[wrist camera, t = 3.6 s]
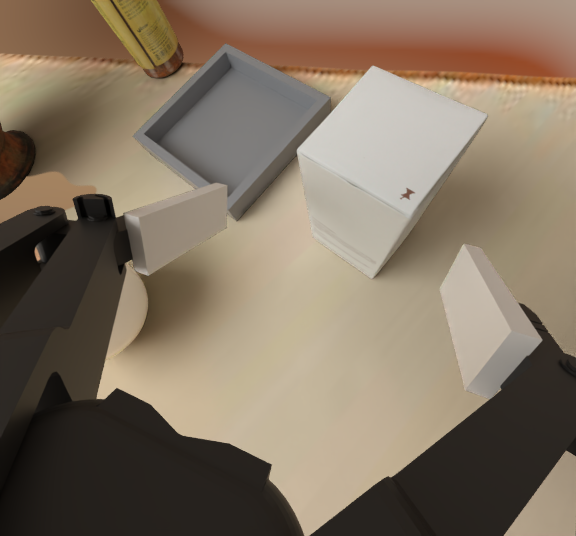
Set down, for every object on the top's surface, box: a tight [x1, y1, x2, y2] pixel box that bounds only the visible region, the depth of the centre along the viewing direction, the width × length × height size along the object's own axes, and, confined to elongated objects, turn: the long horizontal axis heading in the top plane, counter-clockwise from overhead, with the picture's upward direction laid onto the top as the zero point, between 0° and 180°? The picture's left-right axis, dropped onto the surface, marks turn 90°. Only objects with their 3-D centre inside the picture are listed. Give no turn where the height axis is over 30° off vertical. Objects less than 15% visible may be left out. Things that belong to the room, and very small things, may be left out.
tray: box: [133, 44, 331, 221], centre depth 30 cm, size 16×16×2 cm
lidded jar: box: [35, 248, 148, 361], centre depth 23 cm, size 11×11×9 cm
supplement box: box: [297, 66, 488, 279], centre depth 20 cm, size 7×7×13 cm
